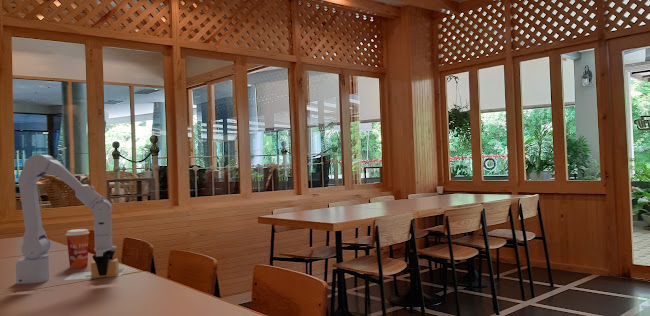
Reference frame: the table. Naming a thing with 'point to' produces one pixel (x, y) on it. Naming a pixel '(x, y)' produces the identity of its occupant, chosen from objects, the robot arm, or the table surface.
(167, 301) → the table surface
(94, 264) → the block
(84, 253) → the coffee cup
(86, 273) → the board
